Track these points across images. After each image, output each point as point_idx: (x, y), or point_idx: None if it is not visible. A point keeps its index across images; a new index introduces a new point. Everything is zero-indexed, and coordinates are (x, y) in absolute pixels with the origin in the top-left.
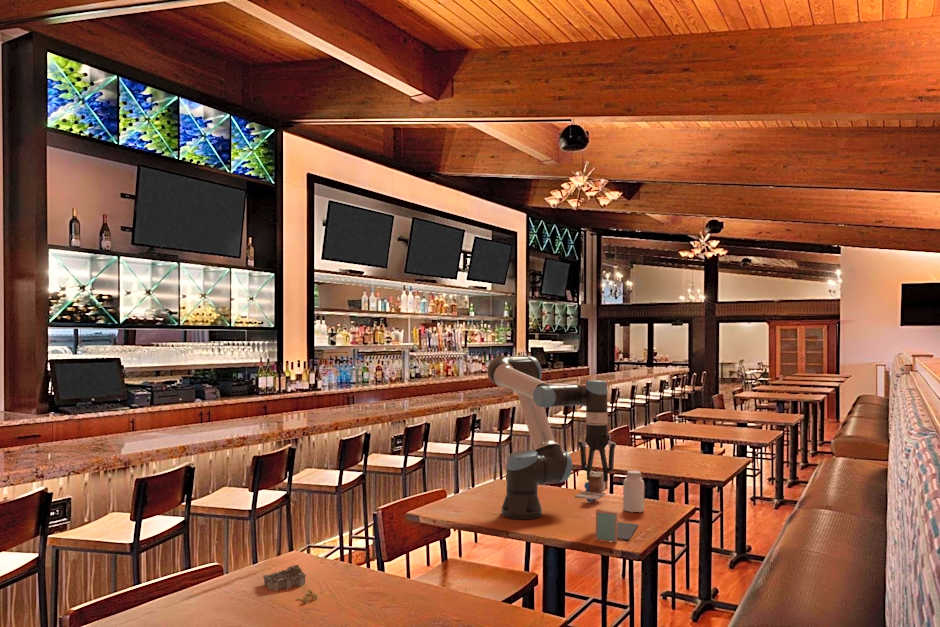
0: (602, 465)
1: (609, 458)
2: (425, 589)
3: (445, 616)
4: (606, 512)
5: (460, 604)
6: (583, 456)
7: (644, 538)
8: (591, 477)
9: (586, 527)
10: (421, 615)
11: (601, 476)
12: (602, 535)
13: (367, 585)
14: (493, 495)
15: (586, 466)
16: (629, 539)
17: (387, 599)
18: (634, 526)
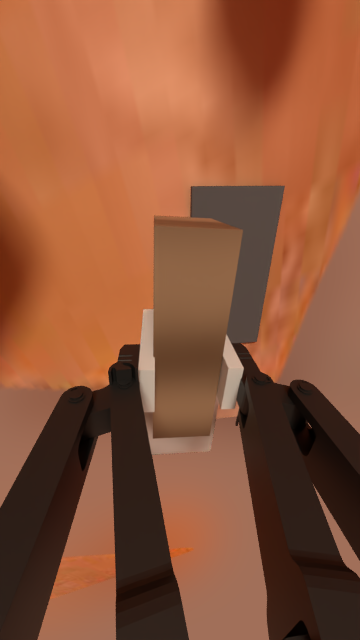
0: (247, 454)
1: (343, 522)
2: (61, 562)
3: (115, 574)
4: (226, 415)
5: (112, 563)
6: (55, 556)
7: (290, 304)
8: (168, 433)
9: (134, 274)
10: (96, 579)
11: (217, 391)
12: None
13: None
14: None
15: (100, 421)
16: (256, 335)
17: None
18: (272, 218)
